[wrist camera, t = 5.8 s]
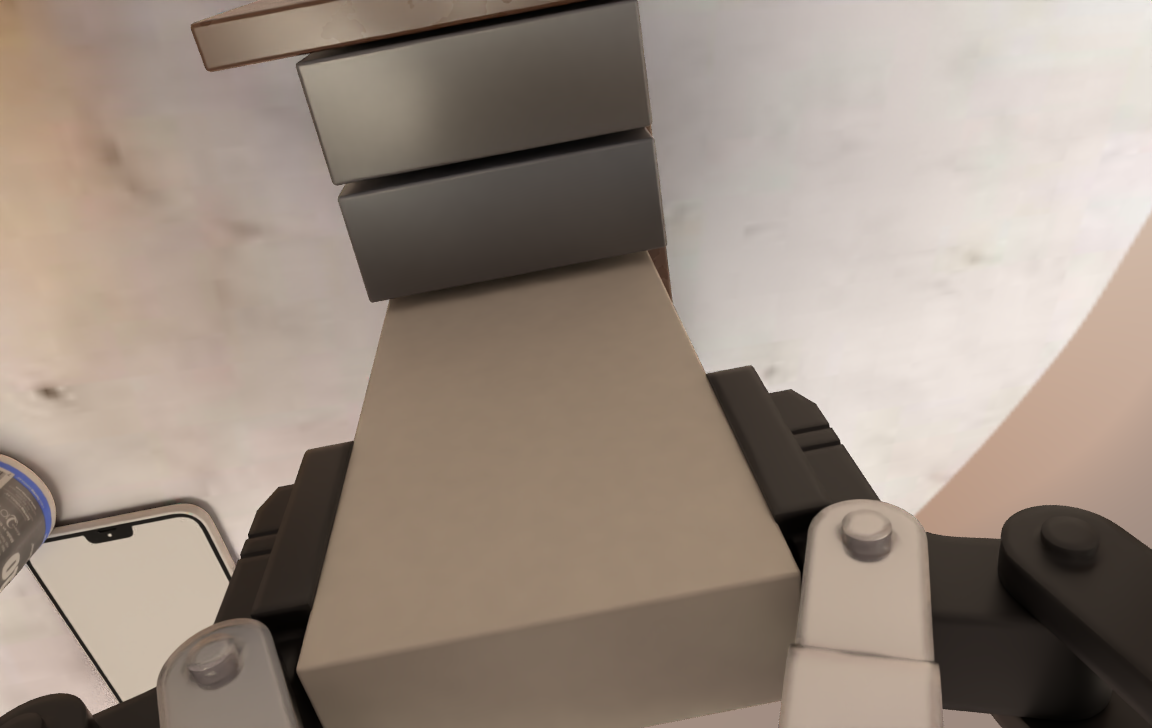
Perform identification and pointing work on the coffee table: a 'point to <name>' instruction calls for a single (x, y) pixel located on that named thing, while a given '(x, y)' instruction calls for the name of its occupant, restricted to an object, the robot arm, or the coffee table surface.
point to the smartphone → (135, 588)
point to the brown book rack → (469, 130)
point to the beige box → (546, 521)
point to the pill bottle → (22, 516)
